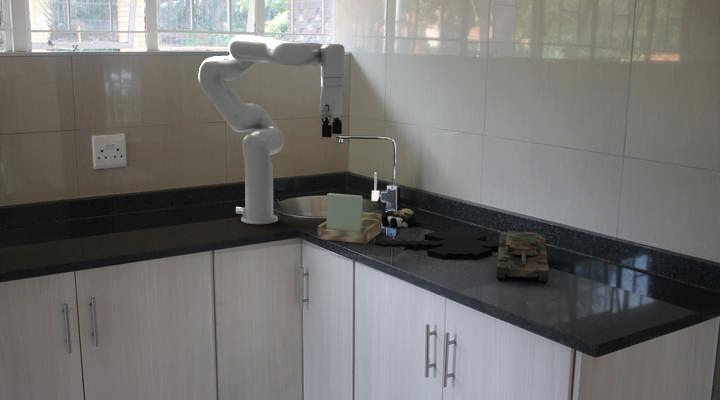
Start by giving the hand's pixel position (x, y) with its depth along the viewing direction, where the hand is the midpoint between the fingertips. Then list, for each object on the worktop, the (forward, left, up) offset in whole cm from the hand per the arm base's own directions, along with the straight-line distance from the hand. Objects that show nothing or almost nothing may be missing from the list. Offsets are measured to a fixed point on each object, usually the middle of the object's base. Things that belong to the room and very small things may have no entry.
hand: (331, 135), depth 266 cm
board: (+10, -15, -30) cm, 35 cm away
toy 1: (+20, +12, -32) cm, 40 cm away
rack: (+10, -10, -31) cm, 34 cm away
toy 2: (+66, -29, -32) cm, 79 cm away
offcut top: (+10, -10, -27) cm, 31 cm away
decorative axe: (+41, -10, -32) cm, 53 cm away
